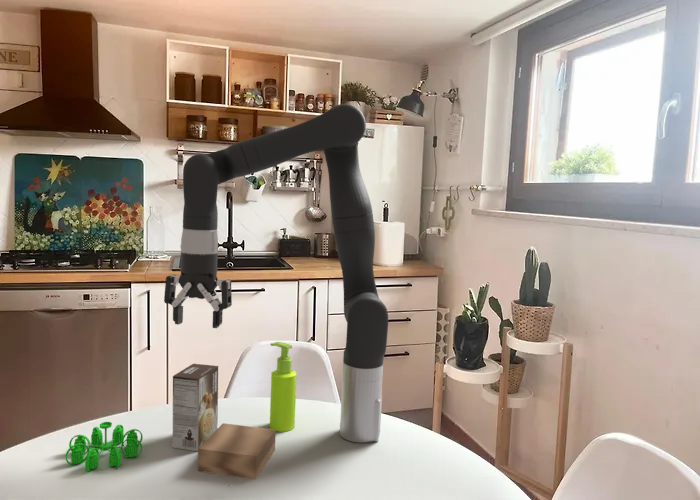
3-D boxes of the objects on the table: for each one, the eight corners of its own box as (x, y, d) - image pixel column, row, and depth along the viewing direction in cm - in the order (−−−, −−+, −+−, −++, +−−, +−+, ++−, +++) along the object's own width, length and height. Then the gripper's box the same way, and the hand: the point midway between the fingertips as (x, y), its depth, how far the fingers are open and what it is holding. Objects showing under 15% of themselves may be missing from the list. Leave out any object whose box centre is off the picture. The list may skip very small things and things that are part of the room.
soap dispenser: (278, 417, 132) (281, 338, 130) (299, 425, 128) (302, 344, 126) (261, 425, 127) (264, 343, 125) (282, 434, 123) (285, 349, 121)
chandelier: (48, 473, 103) (47, 438, 102) (88, 437, 117) (88, 407, 117) (125, 477, 102) (125, 443, 101) (156, 442, 117) (156, 411, 116)
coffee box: (192, 430, 123) (193, 362, 121) (218, 433, 122) (219, 365, 120) (171, 448, 114) (172, 375, 112) (198, 452, 113) (200, 378, 111)
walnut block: (274, 451, 115) (275, 429, 115) (255, 480, 103) (256, 456, 103) (222, 445, 117) (222, 423, 117) (197, 472, 105) (198, 448, 105)
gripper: (238, 251, 115) (235, 324, 117) (176, 246, 118) (174, 318, 119) (224, 254, 108) (221, 333, 110) (159, 249, 110) (157, 326, 112)
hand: (197, 325), depth 114 cm, fingers open, 8 cm apart
